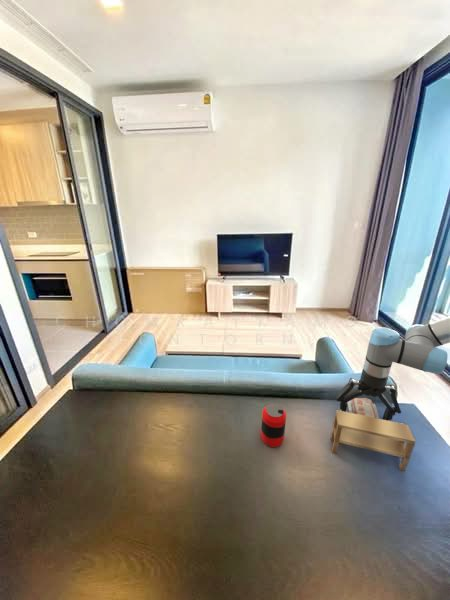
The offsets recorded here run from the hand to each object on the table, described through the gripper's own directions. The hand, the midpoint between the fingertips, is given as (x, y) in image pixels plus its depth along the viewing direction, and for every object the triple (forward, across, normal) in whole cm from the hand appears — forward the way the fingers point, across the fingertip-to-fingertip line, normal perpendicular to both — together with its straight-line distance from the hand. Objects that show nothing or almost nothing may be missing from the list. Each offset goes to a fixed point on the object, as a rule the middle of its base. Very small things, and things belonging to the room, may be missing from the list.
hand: (362, 420), depth 91 cm
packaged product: (0, 0, 0) cm, 1 cm away
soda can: (0, +31, +17) cm, 35 cm away
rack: (0, +2, +14) cm, 14 cm away
